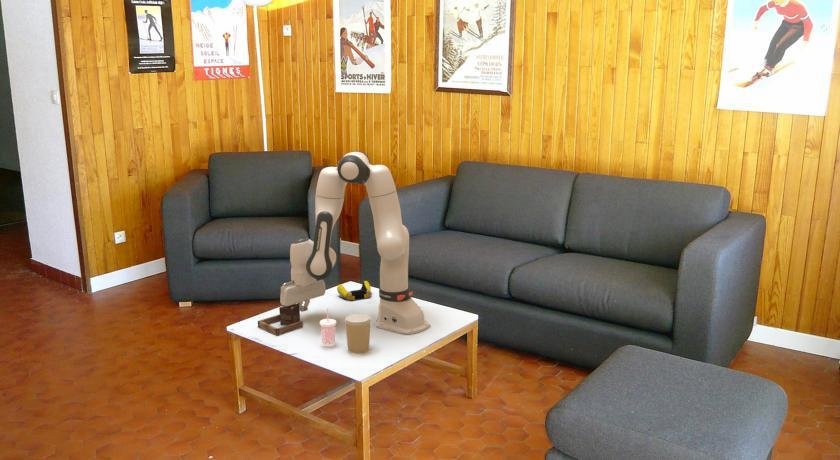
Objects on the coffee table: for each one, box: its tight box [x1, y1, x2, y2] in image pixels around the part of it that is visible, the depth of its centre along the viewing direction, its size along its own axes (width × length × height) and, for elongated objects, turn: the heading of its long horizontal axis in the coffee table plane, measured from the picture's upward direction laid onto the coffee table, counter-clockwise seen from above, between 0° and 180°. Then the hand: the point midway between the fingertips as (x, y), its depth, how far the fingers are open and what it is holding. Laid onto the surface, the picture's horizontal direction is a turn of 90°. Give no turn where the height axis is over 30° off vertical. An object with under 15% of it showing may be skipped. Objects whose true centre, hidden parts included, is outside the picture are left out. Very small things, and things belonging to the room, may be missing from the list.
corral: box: [257, 313, 303, 336], centre depth 288 cm, size 13×12×2 cm
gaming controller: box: [336, 280, 372, 301], centre depth 323 cm, size 15×6×10 cm
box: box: [278, 303, 301, 326], centre depth 292 cm, size 6×6×7 cm
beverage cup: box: [319, 308, 337, 348], centre depth 270 cm, size 6×6×14 cm
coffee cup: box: [344, 313, 372, 354], centre depth 267 cm, size 9×9×12 cm
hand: (303, 310), depth 296 cm, fingers closed
